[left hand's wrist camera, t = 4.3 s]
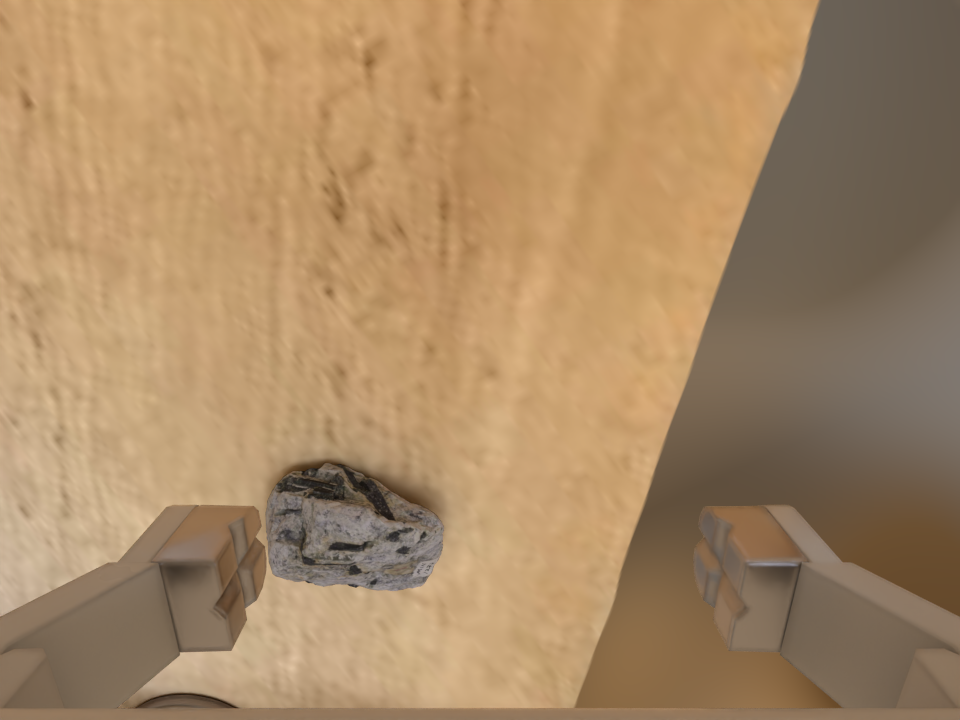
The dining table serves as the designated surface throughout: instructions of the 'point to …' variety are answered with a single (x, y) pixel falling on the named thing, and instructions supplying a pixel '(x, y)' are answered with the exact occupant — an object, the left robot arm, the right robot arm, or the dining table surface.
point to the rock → (349, 532)
